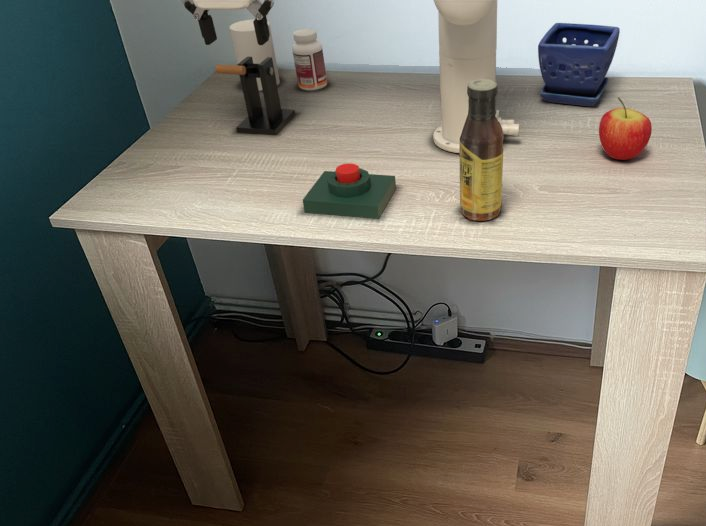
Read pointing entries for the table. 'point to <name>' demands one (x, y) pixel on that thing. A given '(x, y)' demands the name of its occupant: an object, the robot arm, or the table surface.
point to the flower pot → (576, 62)
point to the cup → (252, 46)
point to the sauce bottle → (481, 154)
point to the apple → (624, 132)
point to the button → (348, 173)
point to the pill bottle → (309, 60)
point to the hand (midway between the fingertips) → (237, 42)
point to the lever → (239, 70)
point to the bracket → (258, 117)
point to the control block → (350, 195)
